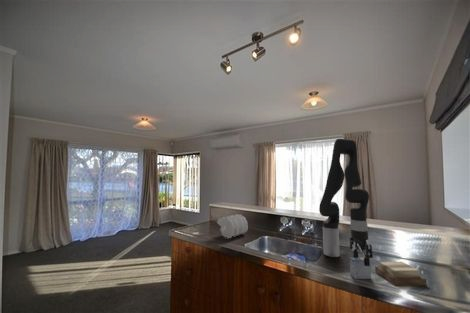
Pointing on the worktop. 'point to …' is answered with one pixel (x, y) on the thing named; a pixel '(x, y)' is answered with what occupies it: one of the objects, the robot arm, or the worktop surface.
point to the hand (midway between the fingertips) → (361, 262)
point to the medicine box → (359, 269)
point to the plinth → (401, 280)
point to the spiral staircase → (233, 225)
